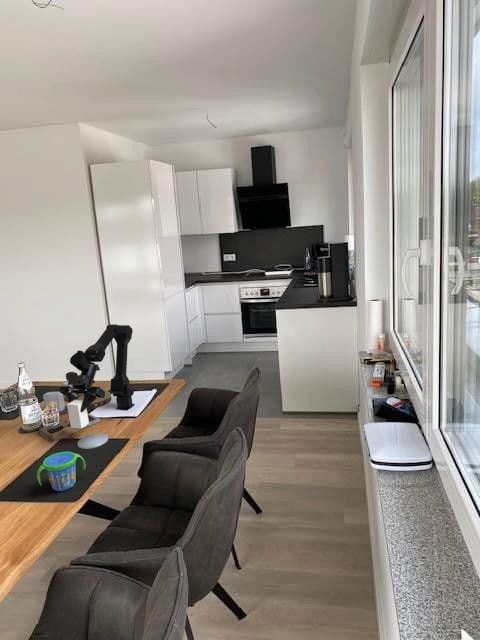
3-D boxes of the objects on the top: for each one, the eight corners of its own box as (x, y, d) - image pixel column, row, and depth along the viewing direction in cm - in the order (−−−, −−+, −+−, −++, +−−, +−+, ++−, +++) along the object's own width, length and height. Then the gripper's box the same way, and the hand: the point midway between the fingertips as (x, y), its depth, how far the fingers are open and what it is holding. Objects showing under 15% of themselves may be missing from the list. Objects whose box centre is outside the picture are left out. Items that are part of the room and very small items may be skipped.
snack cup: (84, 472, 174) (79, 445, 171) (91, 485, 165) (86, 457, 162) (37, 486, 166) (32, 459, 164) (42, 501, 157) (36, 472, 155)
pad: (114, 436, 200) (113, 434, 200) (96, 450, 190) (96, 448, 189) (89, 433, 205) (89, 432, 204) (71, 447, 194) (71, 446, 193)
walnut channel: (67, 424, 216) (66, 419, 216) (78, 431, 208) (77, 425, 208) (39, 434, 208) (38, 429, 208) (50, 441, 200) (49, 436, 200)
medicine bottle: (74, 397, 249) (70, 375, 246) (65, 395, 253) (61, 374, 250) (85, 392, 255) (81, 371, 252) (76, 391, 259) (72, 369, 256)
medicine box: (65, 408, 236) (62, 391, 234) (61, 411, 232) (58, 394, 230) (50, 408, 237) (47, 392, 235) (45, 412, 233) (42, 395, 231)
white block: (78, 422, 200) (74, 399, 198) (89, 423, 198) (85, 400, 196) (71, 427, 195) (66, 404, 193) (81, 428, 194) (77, 405, 192)
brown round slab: (116, 395, 247) (115, 390, 247) (104, 408, 232) (103, 402, 231) (86, 397, 249) (85, 391, 249) (72, 409, 234) (71, 403, 233)
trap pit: (89, 416, 223) (89, 413, 223) (100, 422, 216) (99, 418, 215) (68, 424, 216) (68, 421, 216) (79, 430, 209) (78, 427, 209)
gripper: (57, 367, 198) (44, 403, 190) (96, 367, 193) (84, 404, 185) (72, 378, 207) (60, 413, 199) (110, 379, 202) (99, 415, 194)
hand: (75, 411), depth 194 cm, fingers closed on white block, 5 cm apart
